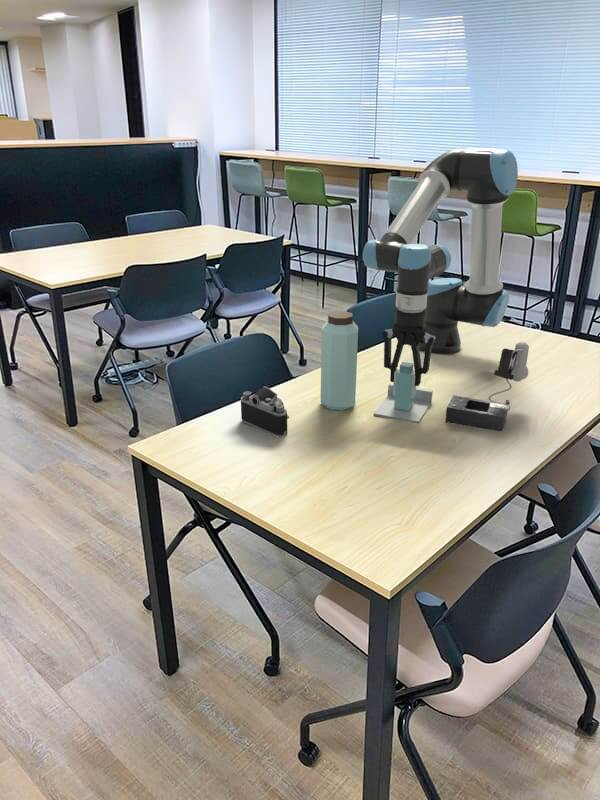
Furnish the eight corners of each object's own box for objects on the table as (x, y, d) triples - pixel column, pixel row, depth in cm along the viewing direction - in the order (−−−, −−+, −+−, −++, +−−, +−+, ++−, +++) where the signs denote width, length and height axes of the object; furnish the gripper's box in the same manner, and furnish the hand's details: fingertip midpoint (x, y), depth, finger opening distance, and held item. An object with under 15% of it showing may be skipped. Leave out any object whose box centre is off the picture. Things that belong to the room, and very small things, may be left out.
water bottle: (313, 407, 169) (314, 317, 159) (329, 393, 177) (331, 307, 167) (347, 414, 165) (350, 322, 154) (362, 400, 173) (366, 312, 162)
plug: (398, 402, 170) (401, 360, 165) (412, 404, 169) (416, 362, 164) (393, 408, 167) (396, 365, 162) (408, 410, 165) (412, 368, 160)
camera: (304, 427, 158) (304, 391, 154) (280, 439, 153) (280, 401, 149) (261, 409, 168) (260, 374, 164) (237, 419, 162) (236, 384, 158)
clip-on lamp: (504, 418, 163) (514, 352, 155) (482, 410, 167) (491, 346, 159) (526, 404, 170) (537, 341, 163) (504, 397, 174) (514, 335, 167)
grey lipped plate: (388, 395, 176) (389, 383, 175) (431, 402, 172) (432, 390, 170) (373, 415, 164) (374, 402, 163) (418, 423, 160) (420, 411, 159)
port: (451, 410, 167) (453, 394, 165) (509, 420, 162) (511, 403, 160) (445, 423, 160) (446, 406, 158) (504, 434, 155) (507, 416, 153)
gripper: (373, 308, 157) (368, 394, 166) (441, 316, 150) (433, 405, 160) (382, 301, 163) (377, 384, 173) (448, 308, 157) (439, 394, 166)
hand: (404, 394), depth 166 cm, fingers closed on plug, 4 cm apart
